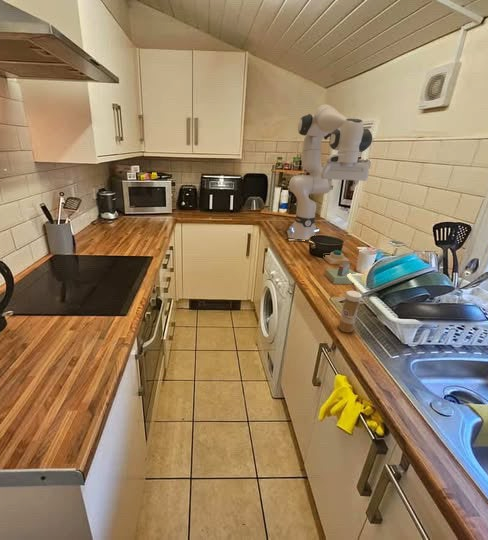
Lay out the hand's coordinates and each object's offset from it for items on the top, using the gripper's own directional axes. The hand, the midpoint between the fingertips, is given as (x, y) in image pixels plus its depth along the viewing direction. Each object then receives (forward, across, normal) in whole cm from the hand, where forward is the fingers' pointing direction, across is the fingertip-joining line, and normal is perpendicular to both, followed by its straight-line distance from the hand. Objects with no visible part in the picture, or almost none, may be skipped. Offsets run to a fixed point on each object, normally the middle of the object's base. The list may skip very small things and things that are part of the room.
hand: (341, 189), depth 140 cm
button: (+33, -5, -5) cm, 34 cm away
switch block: (+37, -5, -5) cm, 37 cm away
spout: (+34, -3, +19) cm, 39 cm away
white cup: (+37, -16, +6) cm, 41 cm away
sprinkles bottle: (+39, +3, +61) cm, 72 cm away
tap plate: (+37, -3, +19) cm, 42 cm away
